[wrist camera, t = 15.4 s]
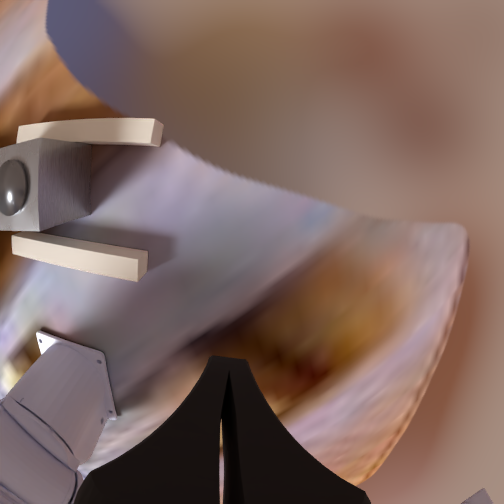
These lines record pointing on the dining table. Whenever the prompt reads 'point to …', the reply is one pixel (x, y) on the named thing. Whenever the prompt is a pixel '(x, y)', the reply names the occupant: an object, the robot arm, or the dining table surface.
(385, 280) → the dining table surface
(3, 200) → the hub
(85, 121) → the guide rails
